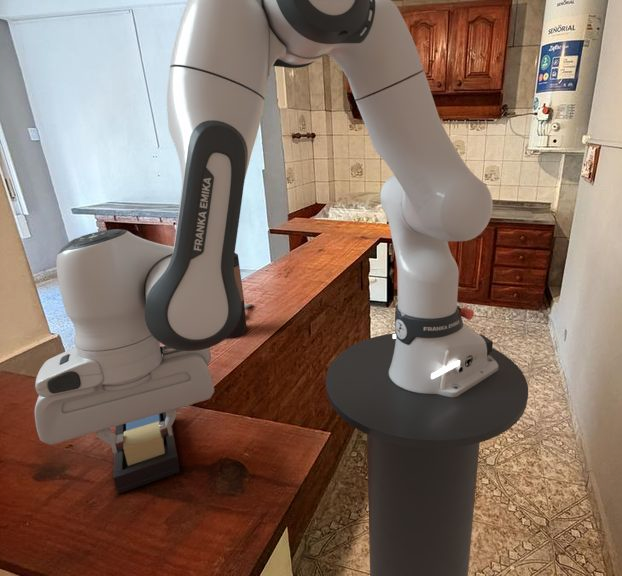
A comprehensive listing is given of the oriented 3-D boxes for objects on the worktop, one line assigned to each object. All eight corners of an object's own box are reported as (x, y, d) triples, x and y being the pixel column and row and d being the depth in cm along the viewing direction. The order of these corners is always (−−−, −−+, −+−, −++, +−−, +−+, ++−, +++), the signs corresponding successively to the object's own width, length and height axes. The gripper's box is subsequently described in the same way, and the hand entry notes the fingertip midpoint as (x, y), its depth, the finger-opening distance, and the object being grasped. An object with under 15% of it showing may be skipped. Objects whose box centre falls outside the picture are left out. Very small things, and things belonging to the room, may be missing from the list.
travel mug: (249, 325, 105) (240, 251, 99) (245, 337, 98) (235, 259, 92) (219, 327, 104) (208, 252, 98) (212, 339, 97) (200, 260, 90)
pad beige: (162, 437, 60) (159, 420, 59) (164, 453, 56) (161, 436, 56) (127, 448, 57) (123, 431, 57) (127, 466, 54) (123, 448, 53)
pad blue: (161, 423, 66) (158, 408, 65) (163, 437, 62) (160, 421, 61) (130, 433, 63) (126, 417, 62) (130, 448, 60) (125, 432, 59)
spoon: (231, 321, 107) (230, 314, 107) (244, 308, 119) (243, 301, 118) (242, 321, 107) (242, 314, 107) (254, 308, 119) (253, 301, 118)
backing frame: (171, 419, 68) (168, 405, 67) (180, 472, 57) (176, 456, 56) (119, 434, 64) (116, 420, 63) (117, 494, 53) (113, 477, 52)
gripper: (204, 329, 60) (217, 407, 64) (28, 365, 50) (58, 455, 54) (211, 345, 55) (224, 428, 59) (16, 390, 44) (50, 486, 49)
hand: (143, 442), depth 56 cm, fingers closed on pad beige, 4 cm apart
